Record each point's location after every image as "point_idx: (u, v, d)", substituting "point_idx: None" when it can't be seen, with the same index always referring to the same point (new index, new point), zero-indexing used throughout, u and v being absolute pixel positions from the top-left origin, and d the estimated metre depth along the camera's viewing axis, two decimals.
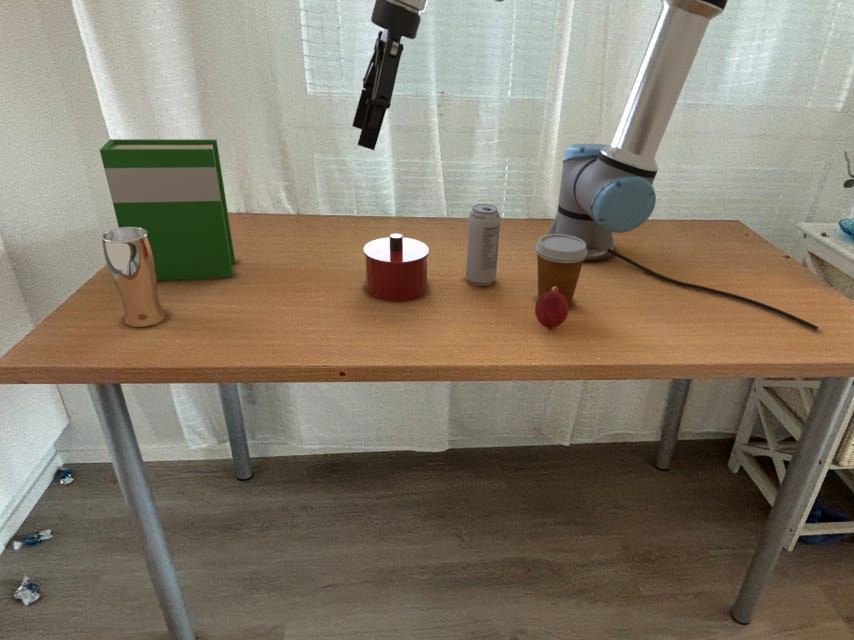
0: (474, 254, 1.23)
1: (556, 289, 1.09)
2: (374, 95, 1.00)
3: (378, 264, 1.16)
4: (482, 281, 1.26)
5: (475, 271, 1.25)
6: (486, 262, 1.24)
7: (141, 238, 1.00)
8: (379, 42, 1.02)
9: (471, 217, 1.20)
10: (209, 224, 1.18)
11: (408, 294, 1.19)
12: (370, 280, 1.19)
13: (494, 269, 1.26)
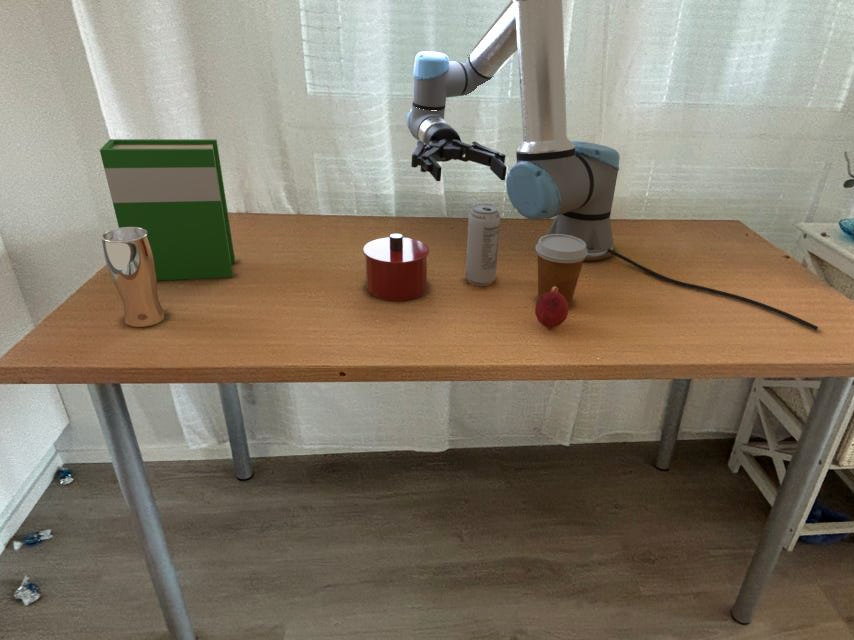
0: (474, 254, 1.23)
1: (556, 289, 1.09)
2: None
3: (378, 264, 1.16)
4: (482, 281, 1.26)
5: (475, 271, 1.25)
6: (486, 262, 1.24)
7: (141, 238, 1.00)
8: None
9: (471, 217, 1.20)
10: (209, 224, 1.18)
11: (408, 294, 1.19)
12: (370, 280, 1.19)
13: (494, 269, 1.26)
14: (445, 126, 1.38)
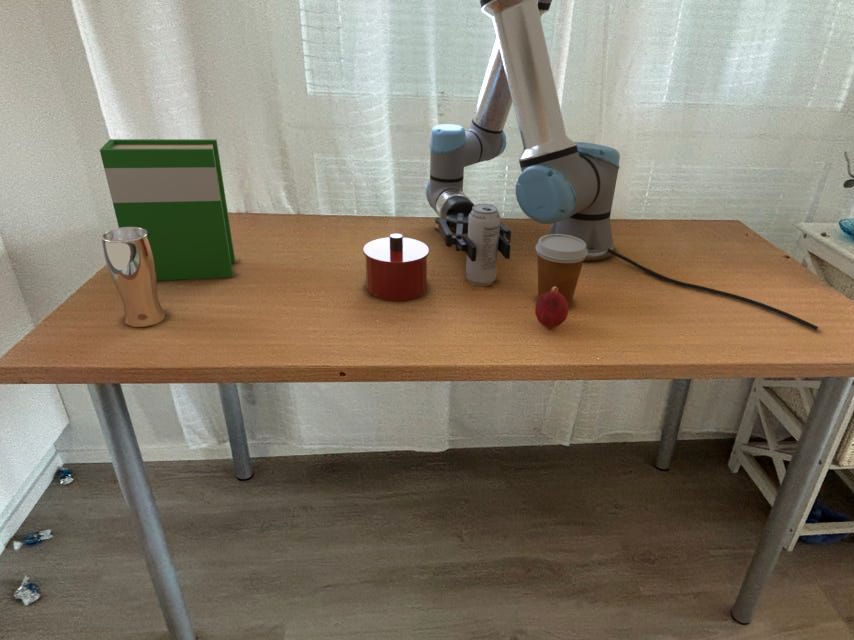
0: None
1: (556, 289, 1.09)
2: None
3: (378, 264, 1.16)
4: (482, 281, 1.26)
5: (475, 271, 1.25)
6: (486, 262, 1.24)
7: (141, 238, 1.00)
8: None
9: (471, 217, 1.20)
10: (209, 224, 1.18)
11: (408, 294, 1.19)
12: (370, 280, 1.19)
13: (494, 269, 1.26)
14: (462, 199, 1.35)
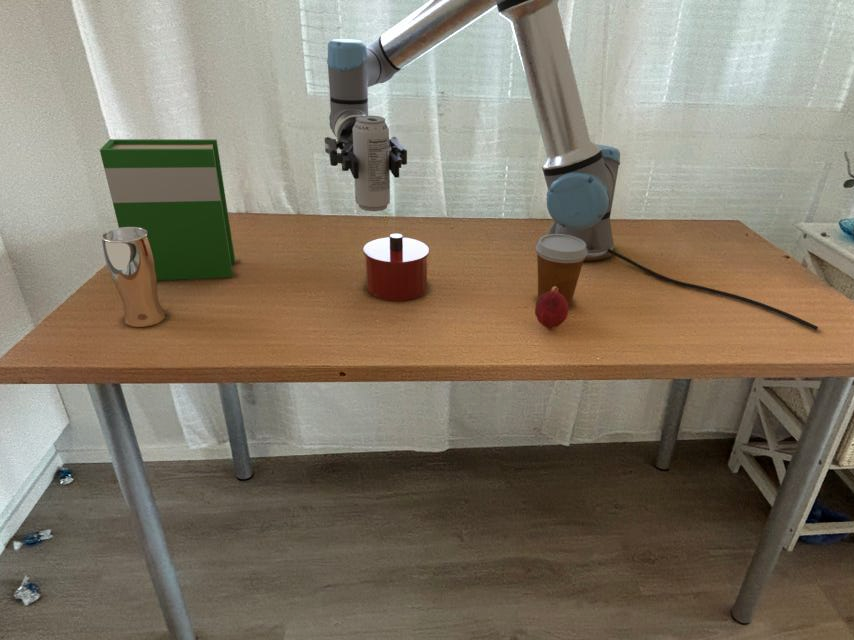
0: (360, 173, 1.09)
1: (556, 289, 1.09)
2: None
3: (378, 264, 1.16)
4: (372, 205, 1.11)
5: (363, 193, 1.10)
6: (374, 182, 1.09)
7: (141, 238, 1.00)
8: None
9: (354, 128, 1.06)
10: (209, 225, 1.18)
11: (408, 294, 1.19)
12: (370, 280, 1.19)
13: (385, 191, 1.11)
14: None
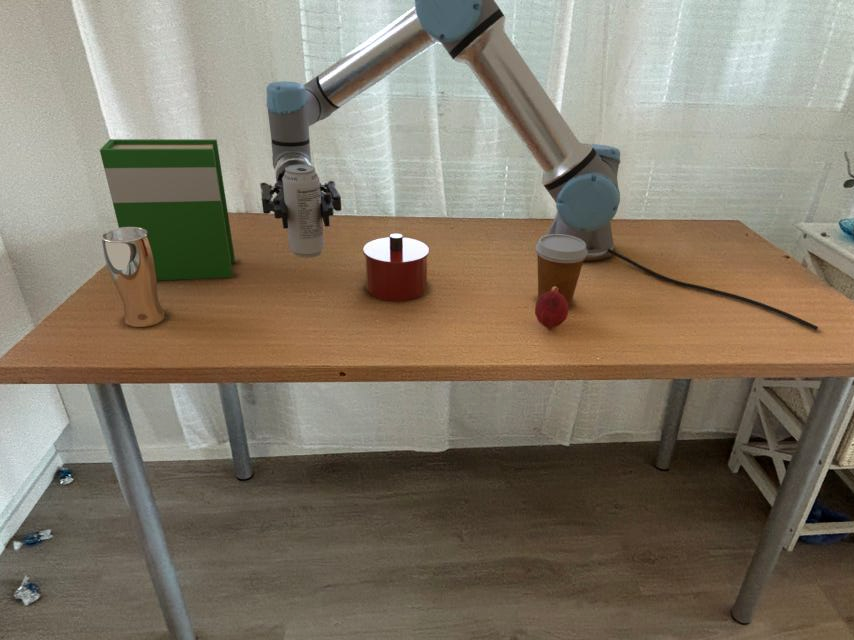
0: (291, 221, 1.09)
1: (556, 289, 1.09)
2: None
3: (378, 264, 1.16)
4: (304, 252, 1.12)
5: (295, 241, 1.11)
6: (306, 231, 1.10)
7: (141, 238, 1.00)
8: None
9: (283, 178, 1.07)
10: (209, 224, 1.18)
11: (408, 294, 1.19)
12: (370, 280, 1.19)
13: (318, 239, 1.12)
14: (295, 163, 1.21)
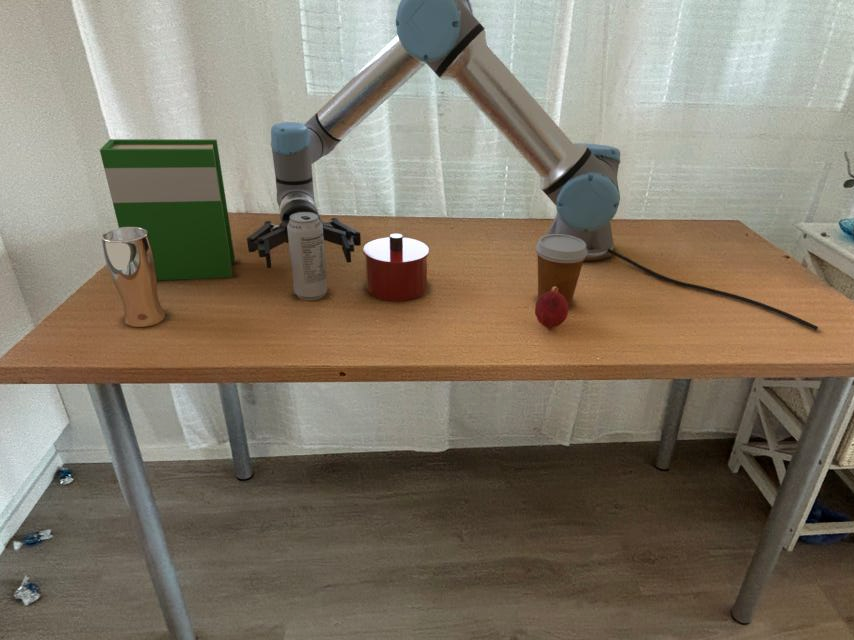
0: (295, 267, 1.14)
1: (556, 289, 1.09)
2: None
3: (378, 264, 1.16)
4: (308, 295, 1.16)
5: (299, 285, 1.15)
6: (310, 275, 1.14)
7: (141, 238, 1.00)
8: None
9: (288, 226, 1.11)
10: (209, 225, 1.18)
11: (408, 294, 1.19)
12: (370, 280, 1.19)
13: (321, 282, 1.16)
14: (299, 203, 1.25)
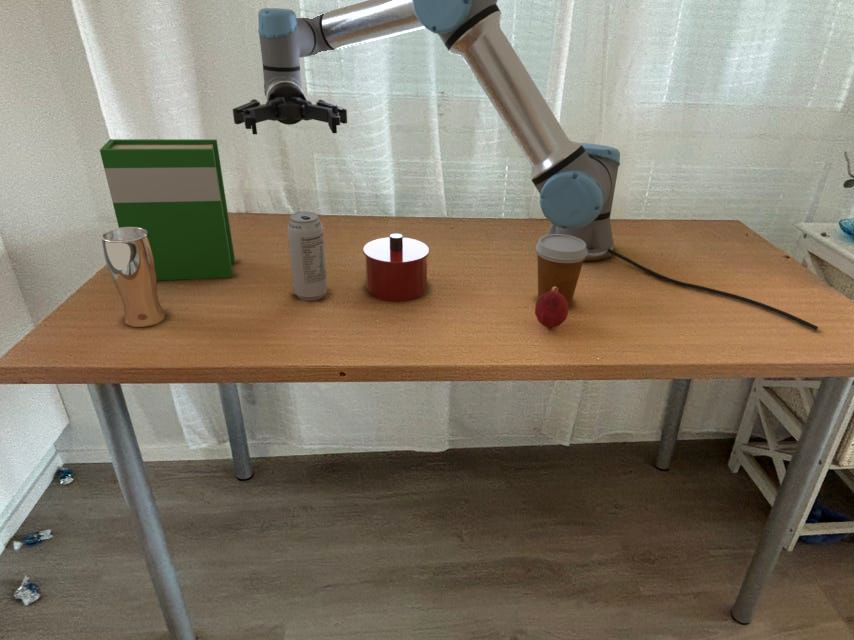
0: (295, 267, 1.14)
1: (556, 289, 1.09)
2: None
3: (378, 264, 1.16)
4: (308, 295, 1.16)
5: (299, 285, 1.15)
6: (310, 275, 1.14)
7: (141, 238, 1.00)
8: None
9: (288, 226, 1.11)
10: (209, 225, 1.18)
11: (408, 294, 1.19)
12: (370, 280, 1.19)
13: (321, 282, 1.16)
14: (286, 84, 1.25)
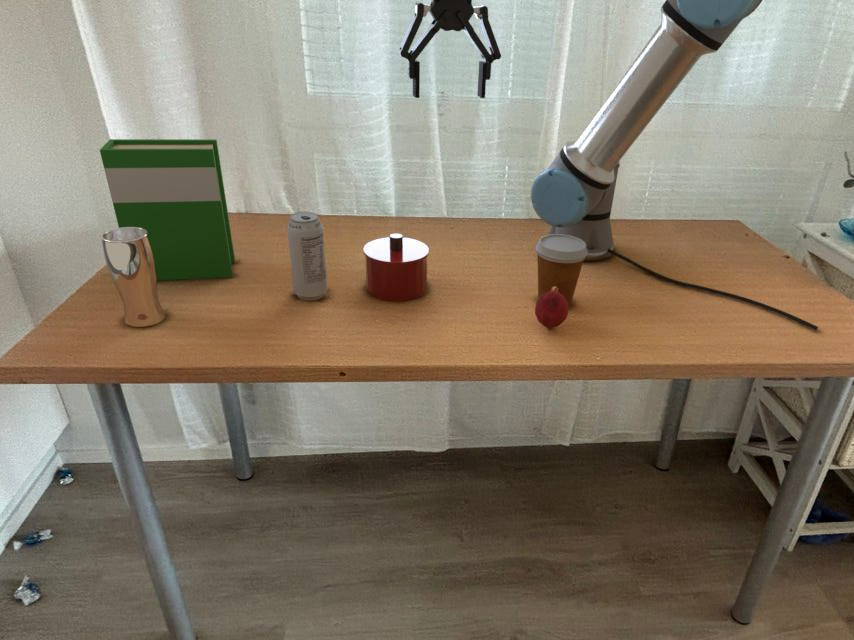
0: (295, 267, 1.14)
1: (556, 289, 1.09)
2: (410, 50, 1.24)
3: (378, 264, 1.16)
4: (308, 295, 1.16)
5: (299, 285, 1.15)
6: (310, 275, 1.14)
7: (141, 238, 1.00)
8: None
9: (288, 226, 1.11)
10: (209, 225, 1.18)
11: (408, 294, 1.19)
12: (370, 280, 1.19)
13: (321, 282, 1.16)
14: None
